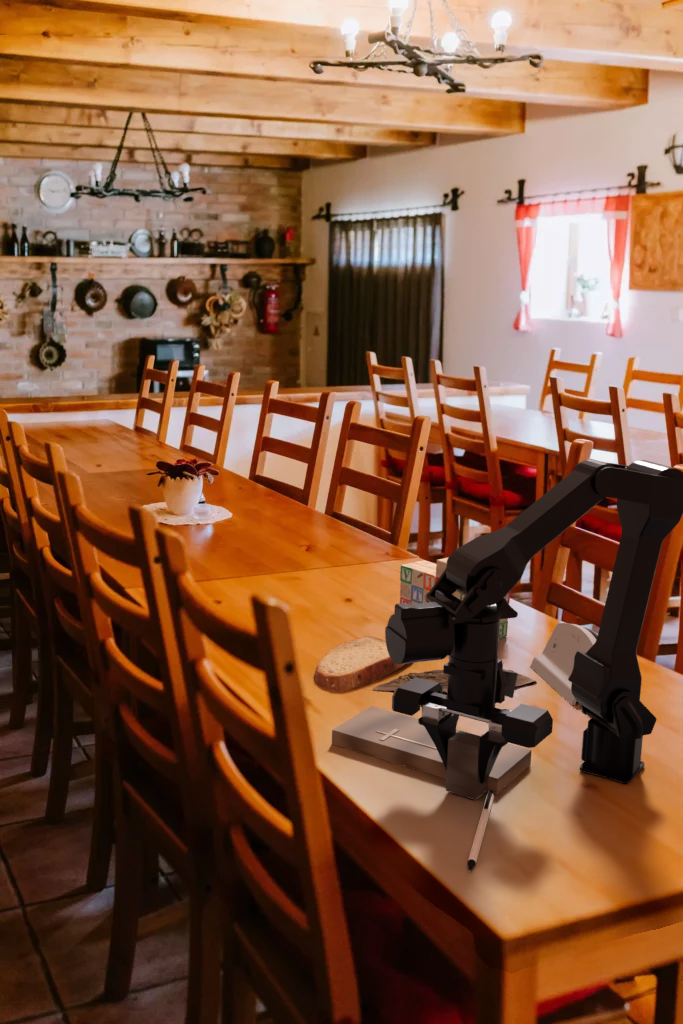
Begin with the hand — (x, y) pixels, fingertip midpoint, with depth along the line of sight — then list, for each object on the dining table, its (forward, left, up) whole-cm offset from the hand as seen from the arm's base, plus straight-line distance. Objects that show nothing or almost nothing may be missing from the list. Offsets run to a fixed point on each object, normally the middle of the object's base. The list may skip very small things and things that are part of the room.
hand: (467, 777), depth 130 cm
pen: (-5, +7, -3) cm, 9 cm away
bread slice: (+32, -29, -3) cm, 43 cm away
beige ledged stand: (+3, -42, -2) cm, 43 cm away
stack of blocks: (+32, -57, -2) cm, 65 cm away
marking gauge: (0, -2, -2) cm, 3 cm away
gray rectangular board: (+9, -7, -2) cm, 11 cm away
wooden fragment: (+18, -31, -3) cm, 36 cm away
